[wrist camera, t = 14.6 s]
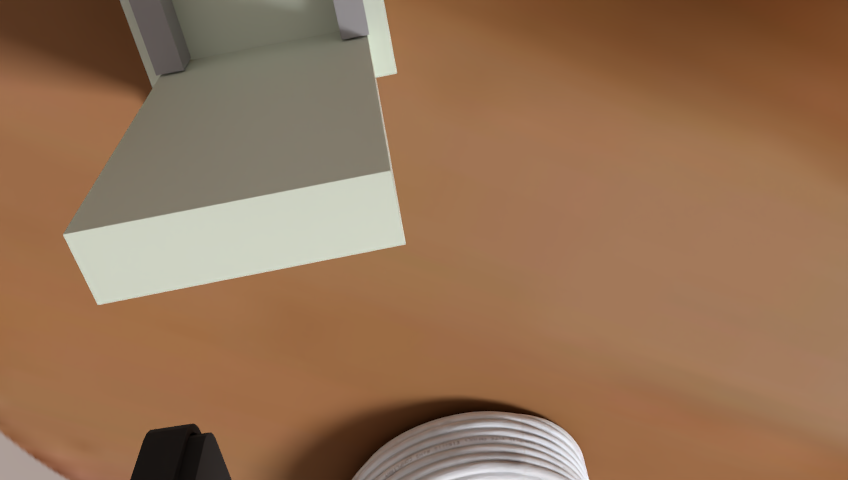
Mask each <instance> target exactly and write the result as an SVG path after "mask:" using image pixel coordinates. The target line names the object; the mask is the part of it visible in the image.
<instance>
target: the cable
mask: <svg viewBox="0 0 848 480" xmlns="http://www.w3.org/2000/svg"><path fill="white" fill-rule="evenodd" d="M352 480H589V478H588V474H587V469H586V466H585V462H584V458H583V455H582V452H581V450H580V448H579V446H578V445H577V443H576V442H575V440H574V439H573V438H572V437H571V436H570V435H569V434H568V433H567V432H566V431H565V430H564V429H562V428H561V427H559V426H558V425H556V424H554V423H553V422H550V421H548V420H546V419H543V418H539V417H536V416H531V415H525V414H515V413H508V412H496V411H481V412H468V413H461V414H456V415H451V416H447V417H443V418H440V419H436V420H433V421H430V422H427V423H424V424H422V425H419V426H417V427H415V428H412V429H410V430H408V431H406V432H404V433H402V434H400V435H399V436H397V437H395V438H394V439H392V440H391V441H389V442H388V443H386V444H385V445H384V446H382V447H381V448H380V449H379V450H378V451H376V452H375V453H374V454H373V455H372V456H371V457H370V459H369V460H368V461H367V462H366V463H365V464H364V465H363V466H362V467H361V468H360V470H359V471H358V472H357V473H356V475H355V476H354V477H353V479H352Z"/></svg>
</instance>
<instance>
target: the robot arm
mask: <svg viewBox="0 0 848 480" xmlns="http://www.w3.org/2000/svg"><path fill="white" fill-rule="evenodd" d="M130 480H231V477H230V475H229V472H228V470H227V467H226V464H225V462H224V459H223V457H222V454H221V452H220V449H219V446H218V444H217V441H216V439H215V437H214V435H213V434H212V433H204V434H201V432H200V430H199V428H198V426H196V425H195V424H188V425H181V426H174V427H168V428H161V429H154V430H150V431H149V432H148V433H147V434H146V436H145V438H144V440H143V443H142V446H141V449H140V452H139V455H138V458H137V461H136V464H135V467H134V470H133V473H132V476H131V479H130Z"/></svg>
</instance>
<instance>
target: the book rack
mask: <svg viewBox="0 0 848 480" xmlns="http://www.w3.org/2000/svg"><path fill="white" fill-rule="evenodd" d="M120 3H121V5H122V8H123V11H124V13H125V16H126V19H127V21H128V24H129V27H130V29H131V32H132V35H133V37H134V40H135V43H136V45H137V48H138V51H139V53H140V56H141V59H142V61H143V64H144V67H145V70H146V72H147V75H148V78H149V80H150V83H151V86H152V88H153V89H152V90H151V92H150V94H149V95H148V97H147V98H146V100H145V102H144V103H143V105H142V107H141V108H140V110H139V111H138V113H137V115H136V116H135V118H134V120H133V121H132V123H131V125H130V126H129V128H128V129H127V131H126V133H125V134H124V136H123V138H122V139H121V141H120V142H119V144H118V146H117V147H116V149H115V151H114V152H113V154H112V155H111V157H110V159H109V160H108V162H107V164H106V165H105V167H104V169H103V170H102V172H101V173H100V175H99V177H98V178H97V180H96V182H95V183H94V185H93V186H92V188H91V190H90V191H89V193H88V195H87V196H86V198H85V199H84V201H83V203H82V204H81V206H80V208H79V209H78V211H77V213H76V214H75V216H74V217H73V219H72V221H71V222H70V224H69V226H68V227H67V229H66V230H65V232H64V234H63V236H64V238H65V240H66V242H67V244H68V246H69V248H70V250H71V252H72V254H73V256H74V258H75V260H76V262H77V264H78V266H79V268H80V270H81V272H82V274H83V276H84V278H85V280H86V282H87V284H88V286H89V288H90V290H91V292H92V294H93V296H94V298H95V300H96V302H97V304H98V305H100V304H105V303H110V302H115V301H120V300H126V299H131V298H136V297H141V296H146V295H151V294H156V293H161V292H166V291H171V290H176V289H181V288H186V287H192V286H197V285H202V284H207V283H212V282H217V281H222V280H227V279H232V278H237V277H242V276H247V275H252V274H257V273H263V272H268V271H273V270H278V269H283V268H288V267H293V266H298V265H303V264H308V263H313V262H318V261H323V260H329V259H334V258H339V257H344V256H349V255H354V254H359V253H364V252H369V251H374V250H379V249H384V248H389V247H395V246H400V245H405V244H406V243H405V237H404V232H403V226H402V220H401V215H400V209H399V204H398V198H397V192H396V187H395V181H394V176H393V170H392V164H391V159H390V153H389V148H388V142H387V136H386V131H385V125H384V120H383V114H382V108H381V103H380V97H379V92H378V86H377V80H376V77H381V76H386V75H391V74H397V70H396V65H395V59H394V54H393V48H392V43H391V38H390V32H389V27H388V21H387V16H386V10H385V5H384V0H120Z"/></svg>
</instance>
